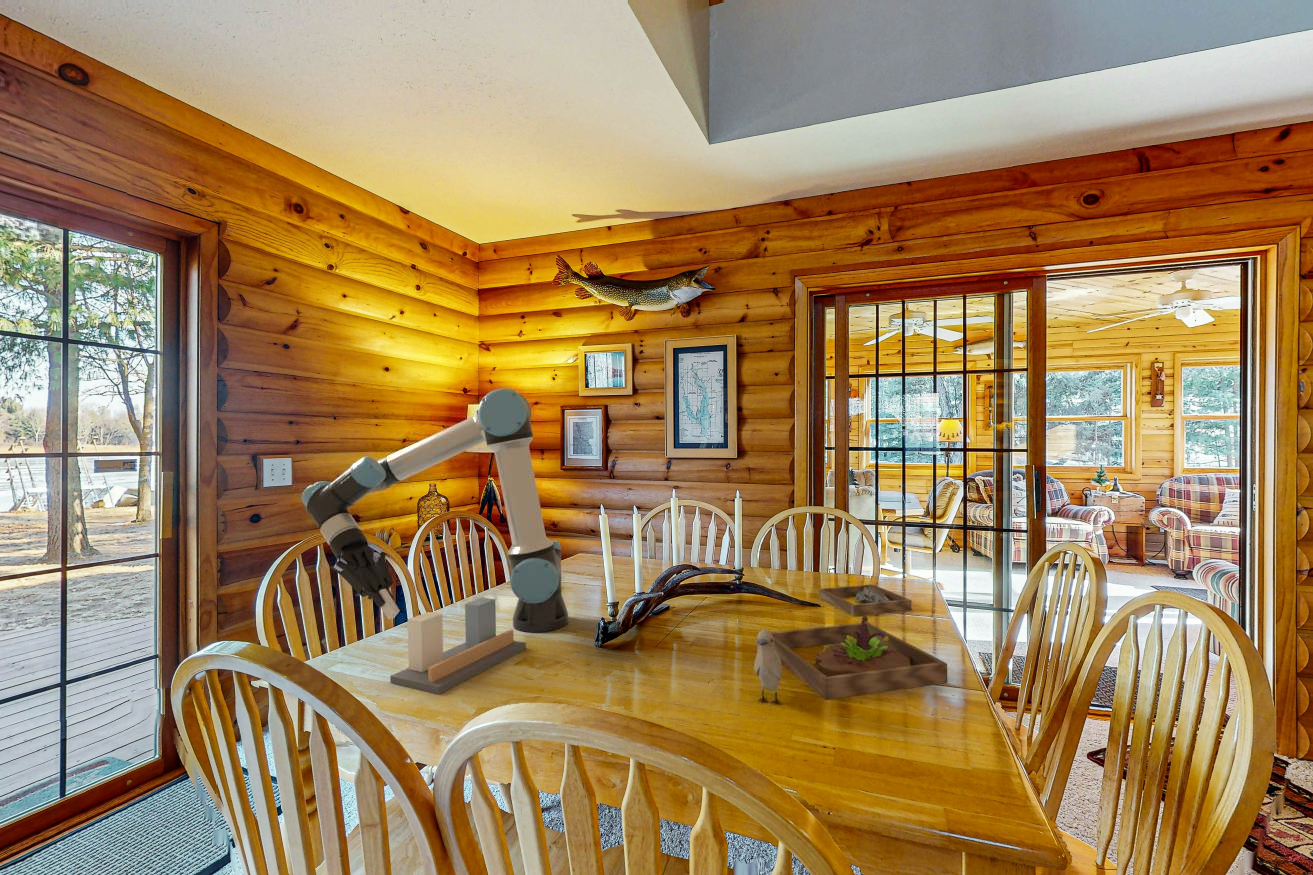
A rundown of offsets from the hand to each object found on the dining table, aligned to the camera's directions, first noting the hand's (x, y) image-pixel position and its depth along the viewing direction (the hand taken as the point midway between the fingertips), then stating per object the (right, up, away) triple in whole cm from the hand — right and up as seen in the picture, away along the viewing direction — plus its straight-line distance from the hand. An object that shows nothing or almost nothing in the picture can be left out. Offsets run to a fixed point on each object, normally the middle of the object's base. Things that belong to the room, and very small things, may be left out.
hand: (394, 615), depth 136 cm
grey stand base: (+15, -12, +1) cm, 19 cm away
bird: (+82, -11, -20) cm, 85 cm away
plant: (+106, -11, -4) cm, 107 cm away
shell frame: (+122, -10, +43) cm, 130 cm away
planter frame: (+103, -10, -3) cm, 104 cm away
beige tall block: (+9, -10, -4) cm, 14 cm away
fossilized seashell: (+125, -10, +43) cm, 133 cm away
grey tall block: (+18, -10, +8) cm, 22 cm away
